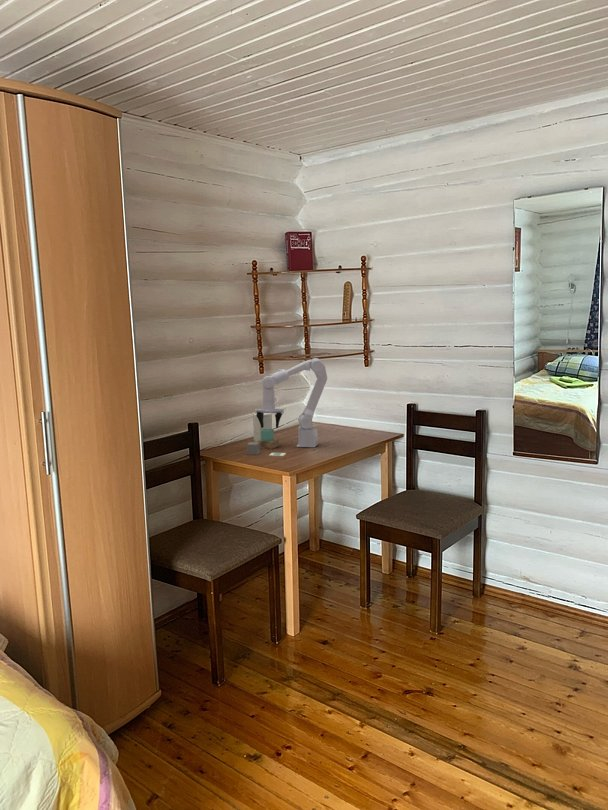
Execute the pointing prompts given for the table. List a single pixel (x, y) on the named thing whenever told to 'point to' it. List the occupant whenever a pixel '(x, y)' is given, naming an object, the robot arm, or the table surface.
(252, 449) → the charcoal cube
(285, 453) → the card
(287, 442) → the table surface
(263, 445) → the walnut block
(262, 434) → the teal cube
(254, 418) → the skincare box
